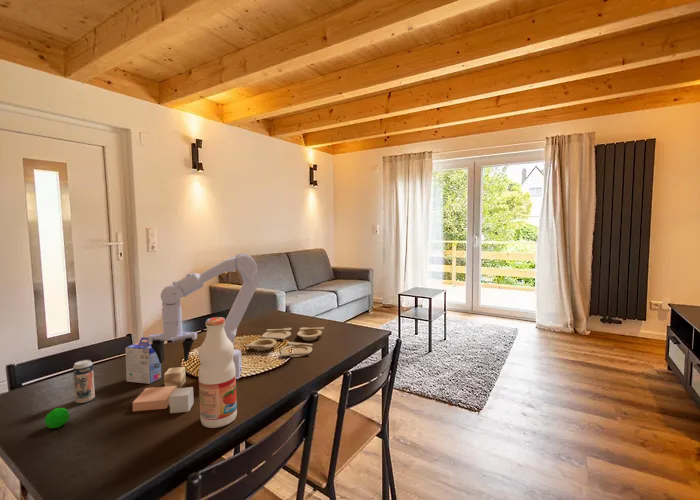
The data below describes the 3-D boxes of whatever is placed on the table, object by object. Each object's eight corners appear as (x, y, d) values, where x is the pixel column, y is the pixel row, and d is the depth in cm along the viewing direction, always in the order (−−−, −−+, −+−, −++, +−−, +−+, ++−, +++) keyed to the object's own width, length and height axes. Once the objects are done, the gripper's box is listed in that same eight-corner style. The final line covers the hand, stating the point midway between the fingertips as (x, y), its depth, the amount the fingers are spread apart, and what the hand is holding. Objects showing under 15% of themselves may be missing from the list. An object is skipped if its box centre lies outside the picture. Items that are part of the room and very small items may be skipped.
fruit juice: (204, 412, 97) (200, 315, 95) (238, 407, 99) (235, 313, 97) (197, 431, 88) (192, 325, 86) (235, 426, 90) (231, 322, 88)
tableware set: (269, 331, 173) (269, 323, 173) (326, 333, 169) (326, 325, 168) (237, 357, 138) (237, 347, 138) (307, 360, 134) (307, 350, 134)
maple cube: (185, 381, 117) (185, 366, 117) (181, 387, 112) (180, 373, 112) (170, 382, 116) (169, 368, 116) (164, 389, 111) (164, 374, 111)
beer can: (73, 405, 101) (70, 366, 100) (77, 398, 105) (74, 361, 105) (93, 401, 103) (90, 363, 103) (96, 394, 108) (94, 358, 107)
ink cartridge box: (162, 377, 120) (160, 337, 119) (150, 384, 114) (148, 342, 113) (138, 375, 122) (136, 335, 121) (125, 382, 116) (123, 340, 115)
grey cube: (193, 402, 102) (193, 386, 102) (188, 411, 98) (187, 395, 97) (176, 404, 102) (175, 388, 101) (170, 413, 97) (169, 396, 96)
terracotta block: (176, 394, 108) (176, 385, 108) (166, 409, 99) (166, 399, 99) (146, 397, 107) (145, 388, 107) (133, 412, 98) (132, 402, 98)
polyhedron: (42, 434, 88) (40, 416, 87) (49, 423, 92) (48, 406, 92) (66, 429, 90) (65, 411, 89) (72, 419, 94) (71, 402, 94)
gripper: (143, 326, 107) (145, 367, 108) (192, 323, 110) (193, 364, 111) (152, 319, 114) (154, 359, 115) (198, 317, 117) (199, 356, 118)
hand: (174, 361), depth 114 cm, fingers open, 7 cm apart
